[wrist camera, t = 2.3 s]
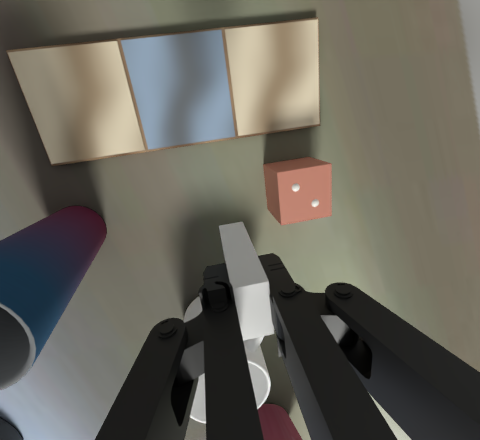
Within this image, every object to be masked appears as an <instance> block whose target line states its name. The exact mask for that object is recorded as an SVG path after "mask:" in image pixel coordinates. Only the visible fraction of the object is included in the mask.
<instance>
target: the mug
mask: <svg viewBox="0 0 480 440" xmlns="http://www.w3.org/2000/svg"><path fill="white" fill-rule="evenodd" d="M201 312H202V305H201V301H200V297H197V298H196V299H195V300H194V301H193V302H192V303H191V304H190V305H189V307H188V308H187V310H186V313H185V316H184V323H185V322H187V321H189V320H191V319H193V318H195V317H196V316H198V315H199V314H200V313H201ZM263 338H264V336H262V337H257V338H253V339H248V340H244V341H243V342H244V347H245V352H246V356H247V361H248V366H249V371H250V376H251V380H252V385H253V390H254V395H255V399H256V404H257V409H258V408H259V407H261V405H262V404H263V403H264V402H265V400H266V399H267V397H268V395H269V392H270V386H271V383H270V377H269V373H268V370H267V367H266V363H265V360H264V356H263V353H262V350H261V346H260V344H261V342H262V340H263ZM190 417H191V418H192V419H194V420H196V421H199V422H202V423H206V407H205V373H204V374H202V375H201V376H199V381H198V385H197V389H196V393H195V397H194V401H193V405H192V409H191V414H190Z"/></svg>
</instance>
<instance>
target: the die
mask: <svg viewBox="0 0 480 440" xmlns="http://www.w3.org/2000/svg"><path fill="white" fill-rule="evenodd" d="M263 166H264V176H265V187H266V197H267V207H268V210H269V211H270V212H271V214H272V215H273V216H274V217H275V218H276V220H277V221H278V222H279V223H280V224H281V225H286V224H291V223H296V222H302V221H307V220H312V219H318V218H323V217H328V216H332V209H331V163H327V162H324V161H321V160H318V159H315V158H311V157H305V158H299V159H292V160H286V161H280V162H274V163H268V164H263Z"/></svg>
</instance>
